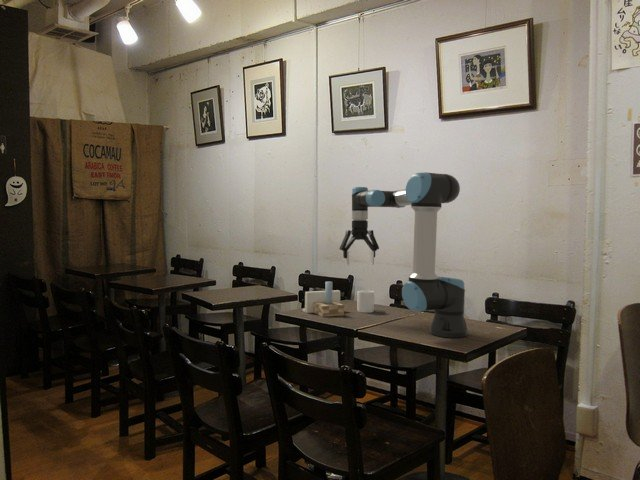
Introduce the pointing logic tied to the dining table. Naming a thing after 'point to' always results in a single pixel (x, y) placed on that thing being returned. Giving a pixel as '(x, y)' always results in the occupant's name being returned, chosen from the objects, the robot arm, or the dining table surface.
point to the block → (328, 309)
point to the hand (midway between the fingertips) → (359, 264)
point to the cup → (365, 301)
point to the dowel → (328, 293)
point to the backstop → (318, 299)
